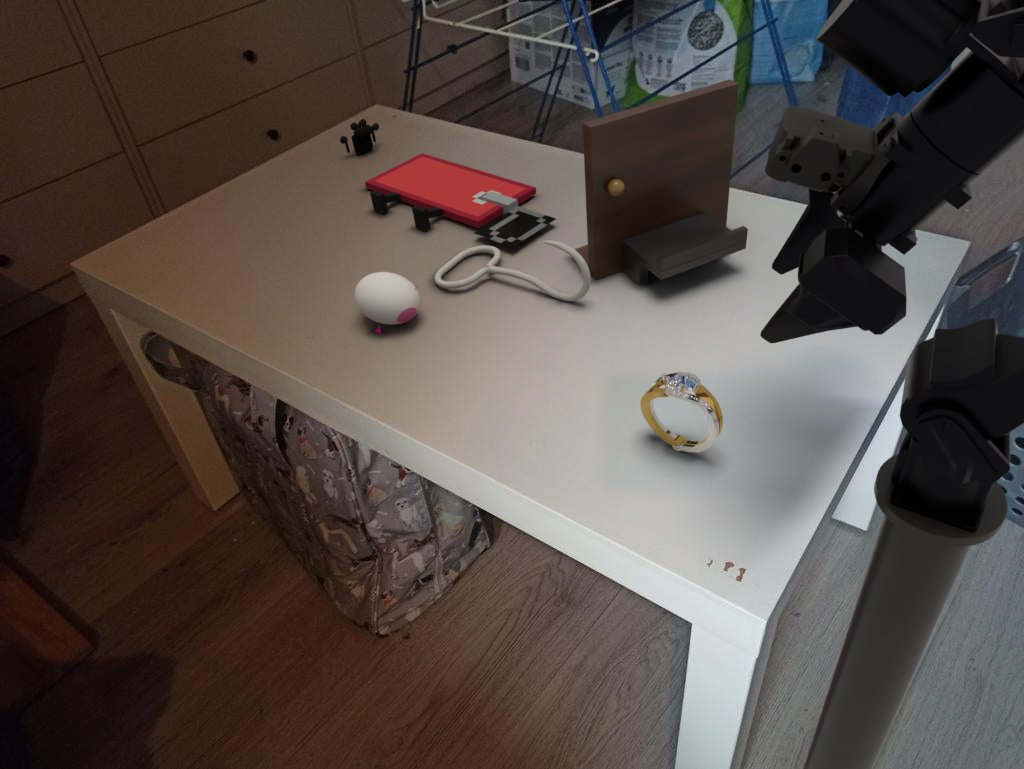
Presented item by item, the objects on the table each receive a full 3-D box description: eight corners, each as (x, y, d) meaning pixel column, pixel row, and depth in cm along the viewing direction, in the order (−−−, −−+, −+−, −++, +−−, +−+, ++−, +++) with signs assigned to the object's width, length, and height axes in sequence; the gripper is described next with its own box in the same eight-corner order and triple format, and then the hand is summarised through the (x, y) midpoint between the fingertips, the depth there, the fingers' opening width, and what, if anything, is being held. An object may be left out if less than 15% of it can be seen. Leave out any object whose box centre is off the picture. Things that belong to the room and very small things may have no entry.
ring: (634, 441, 70) (635, 372, 65) (654, 421, 72) (656, 352, 67) (704, 475, 66) (711, 405, 61) (724, 453, 68) (731, 382, 63)
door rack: (768, 262, 89) (789, 105, 78) (632, 313, 85) (632, 155, 73) (698, 214, 99) (706, 68, 87) (571, 258, 94) (563, 110, 83)
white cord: (573, 327, 83) (430, 303, 94) (615, 282, 88) (476, 264, 100) (560, 266, 79) (412, 248, 90) (606, 222, 84) (461, 211, 96)
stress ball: (432, 340, 90) (444, 282, 89) (394, 342, 83) (406, 279, 82) (378, 324, 93) (389, 268, 92) (336, 324, 86) (347, 263, 85)
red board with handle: (502, 260, 95) (580, 210, 103) (500, 240, 93) (579, 190, 101) (346, 201, 112) (423, 162, 120) (342, 182, 110) (420, 144, 118)
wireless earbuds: (380, 143, 126) (373, 112, 122) (389, 147, 124) (382, 116, 121) (343, 158, 123) (335, 127, 119) (351, 163, 121) (343, 131, 118)
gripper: (845, 16, 54) (702, 184, 65) (838, 123, 41) (659, 312, 51) (971, 112, 55) (810, 261, 66) (1004, 246, 42) (795, 405, 53)
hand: (771, 302), depth 59 cm, fingers open, 9 cm apart
